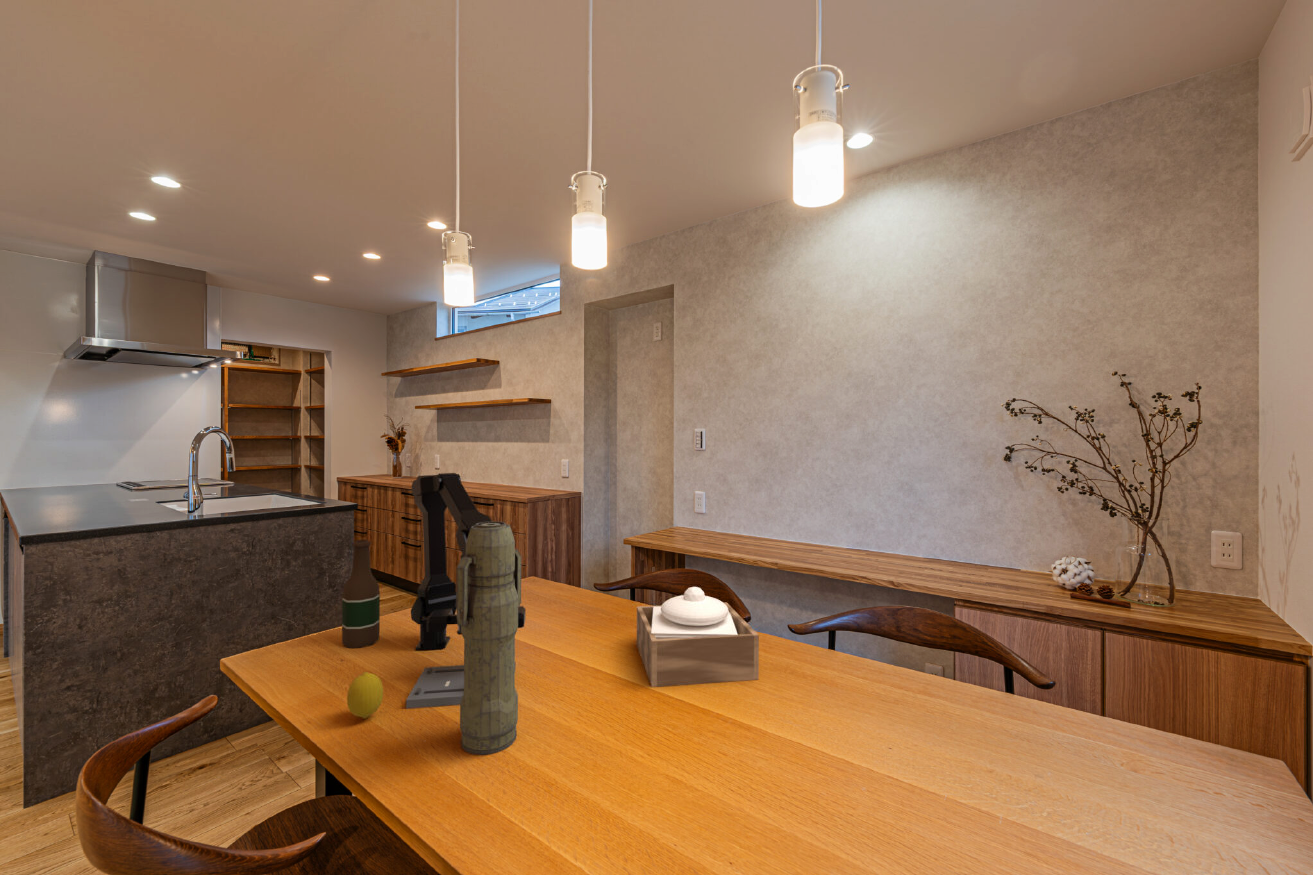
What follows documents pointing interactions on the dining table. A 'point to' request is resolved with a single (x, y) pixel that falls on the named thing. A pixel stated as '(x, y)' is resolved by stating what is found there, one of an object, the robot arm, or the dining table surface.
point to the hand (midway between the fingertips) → (477, 660)
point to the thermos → (489, 637)
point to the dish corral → (697, 654)
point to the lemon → (365, 695)
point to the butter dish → (692, 617)
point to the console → (438, 687)
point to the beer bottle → (360, 601)
